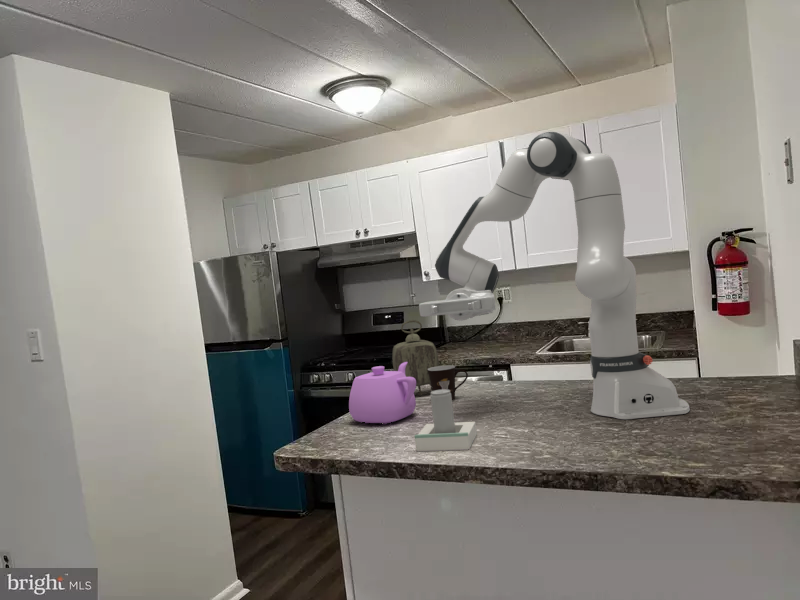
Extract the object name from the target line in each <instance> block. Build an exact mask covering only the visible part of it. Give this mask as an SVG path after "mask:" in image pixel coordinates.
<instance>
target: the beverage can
mask: <svg viewBox="0 0 800 600" xmlns="http://www.w3.org/2000/svg"><path fill="white" fill-rule="evenodd" d="M429 397H430V402H431V412H432V419H433V424H434V431H435V434H441V433H456V431H455V423H456V422H455V417H454V416H455V415H454V407H453V406H454V405H453V400H452V397H451V393H450V390H447V389H442V390H435V391H432V390H431V391H430V395H429Z"/></svg>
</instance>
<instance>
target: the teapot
mask: <svg viewBox="0 0 800 600" xmlns="http://www.w3.org/2000/svg"><path fill="white" fill-rule="evenodd" d="M407 363H408V362H404V363H402V364H401V365H400V366H399V369H398V371H394V370H385V366H383V365H379V366H373V367H371V372H368V373H364V374H361V375H358V376H355V378H354V379H353V382H352V386H351V389H350V393H349V398H348V399H349V400H348V409H349V410H348V411H349V415H350V416H351V418H352V419H353V420H354V421H355V422H359V423H362V422H365V423H364V424H369V423H370V424H381V423H383V424H382V425H388V424H387V423H390V424H392V423H393V422H396V421H400V420H402V419H404V418H407V417H409V416H411V415H412V414H413V413H414V411H415V409H416V406H417V405H416V403H417V402H416V397H415V391H416V389H417V386H416V379H415V378H414V377H406V375H405V368H406V365H407ZM391 422H392V423H391Z"/></svg>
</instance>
